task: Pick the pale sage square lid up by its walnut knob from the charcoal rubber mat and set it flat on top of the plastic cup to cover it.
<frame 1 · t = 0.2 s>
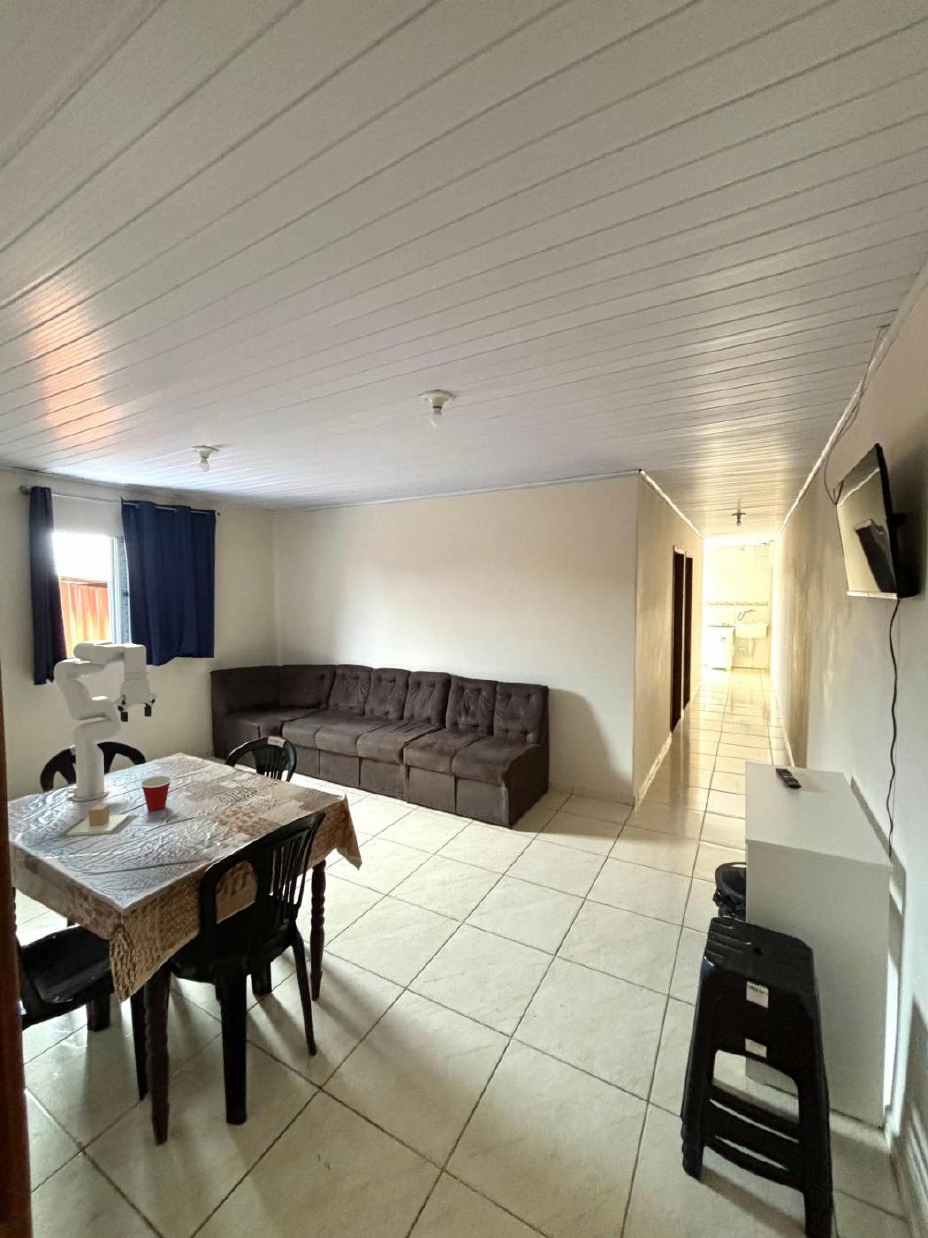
hand: (136, 719, 204), 37 cm above the table, tool pointing down, fingers open, 9 cm apart
mat: (99, 827, 189), on the table
plastic cup: (156, 810, 205), on the table
lid: (99, 826, 189), resting on mat
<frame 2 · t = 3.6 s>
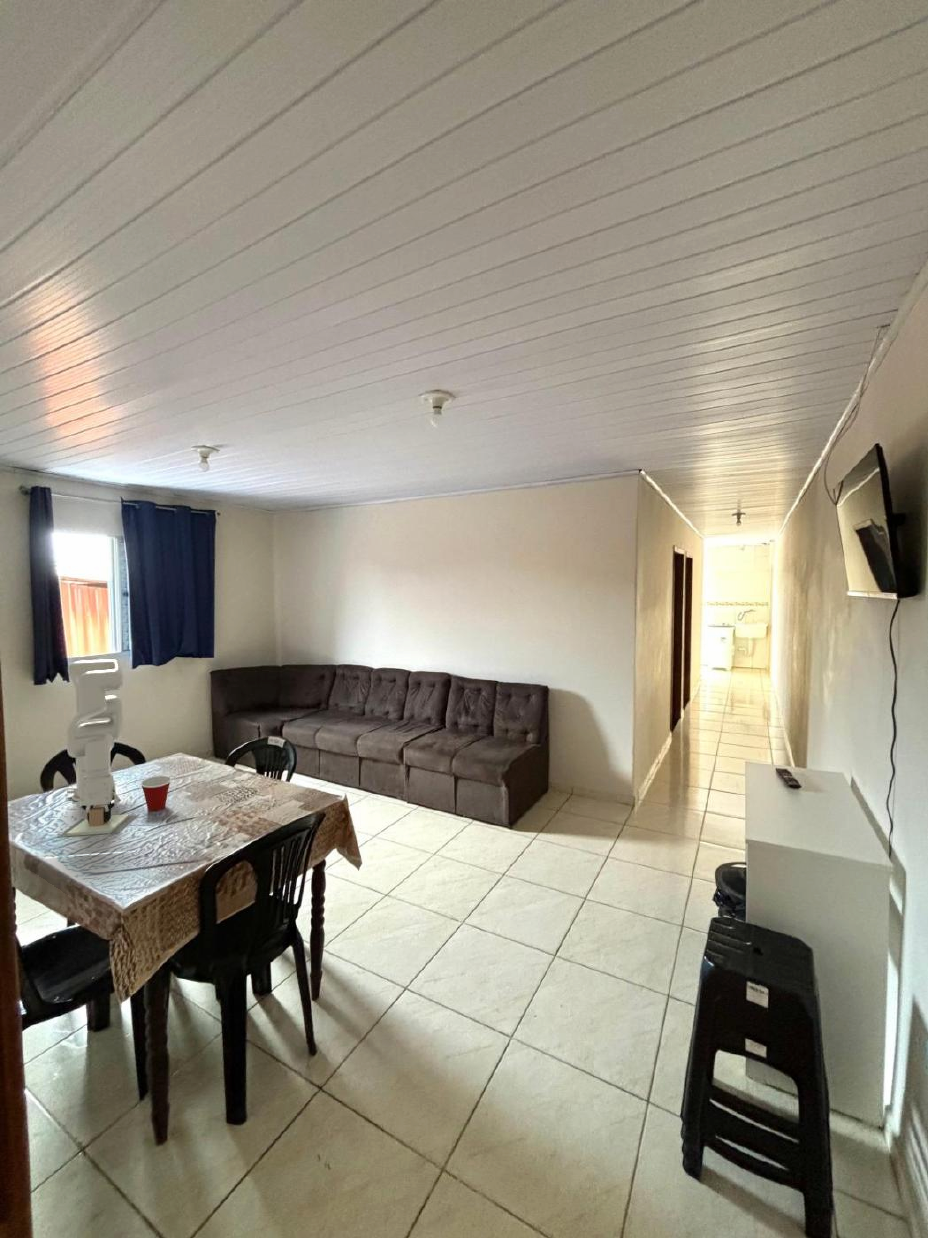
hand: (99, 821, 189), 2 cm above the table, tool pointing down, fingers closed on lid, 4 cm apart
lid: (99, 826, 189), resting on mat, touching gripper
everything else where it was.
when the fingers open (16 cm above the table, at t = 9.1 s): lid drops 2 cm, resting on plastic cup.
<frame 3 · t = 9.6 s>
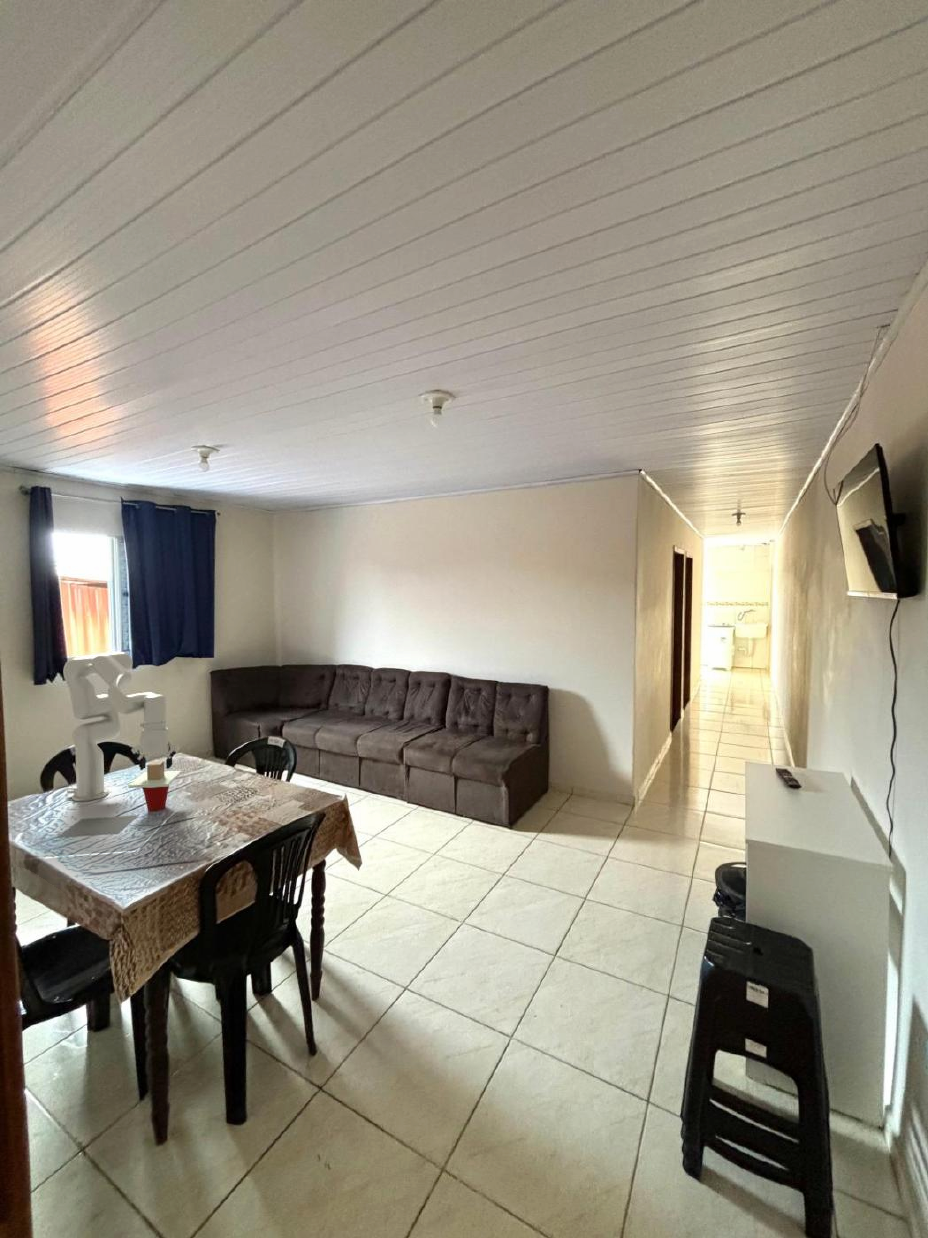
hand: (155, 768, 205), 17 cm above the table, tool pointing down, fingers open, 9 cm apart
plastic cup: (156, 810, 205), on the table, touching lid
lid: (156, 780, 205), point 12 cm above the table, touching plastic cup
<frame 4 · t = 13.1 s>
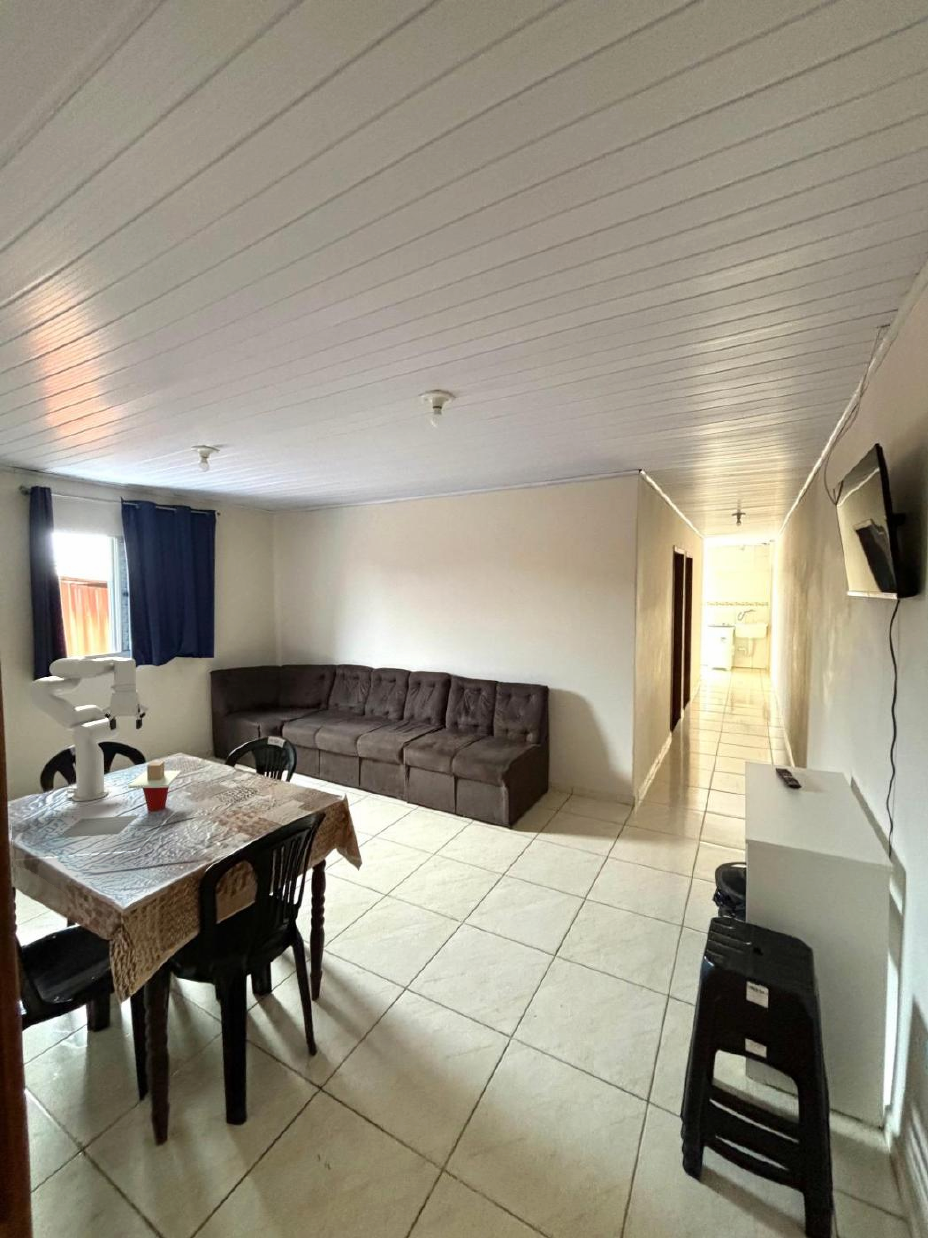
hand: (126, 729, 214), 30 cm above the table, tool pointing down, fingers open, 9 cm apart
nothing on the table moved.
at the end: lid 0.1 cm from the plastic cup (horizontally); lid point 12.0 cm above the table; plastic cup tilted 0° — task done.
